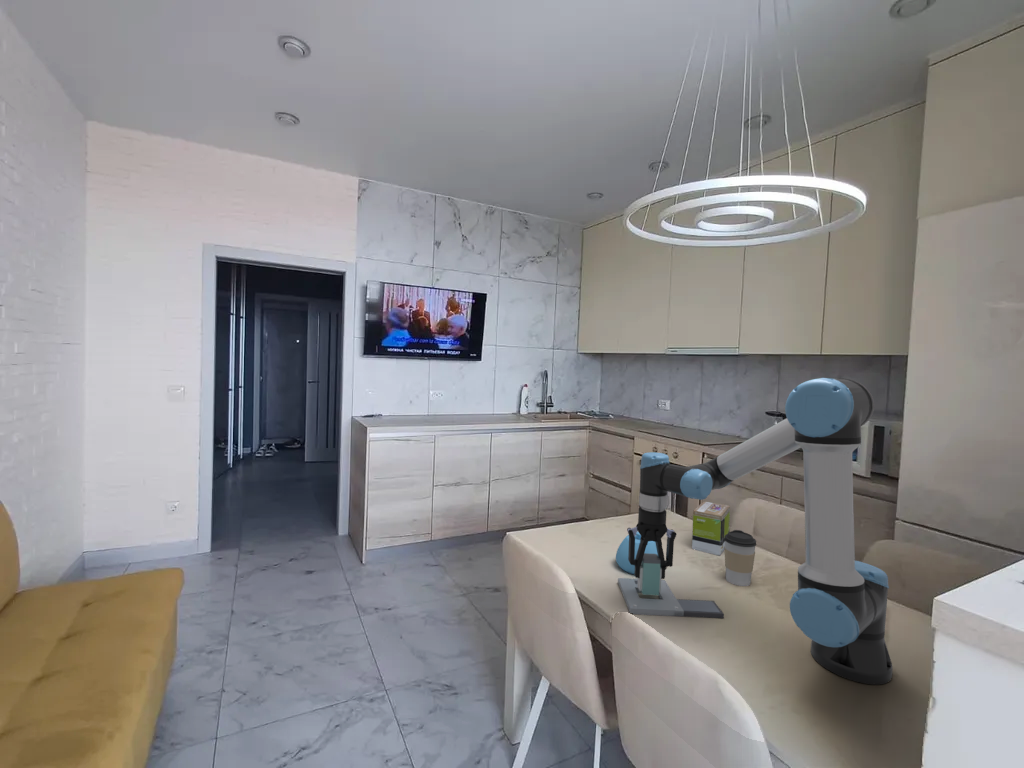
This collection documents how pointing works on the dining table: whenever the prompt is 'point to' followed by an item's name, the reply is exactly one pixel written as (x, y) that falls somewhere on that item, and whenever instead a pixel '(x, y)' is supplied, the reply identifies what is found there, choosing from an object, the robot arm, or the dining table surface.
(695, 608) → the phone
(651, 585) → the charger block
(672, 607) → the outlet plate
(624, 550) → the sugar bowl
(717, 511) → the tea box
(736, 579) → the coffee cup
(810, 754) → the dining table surface
